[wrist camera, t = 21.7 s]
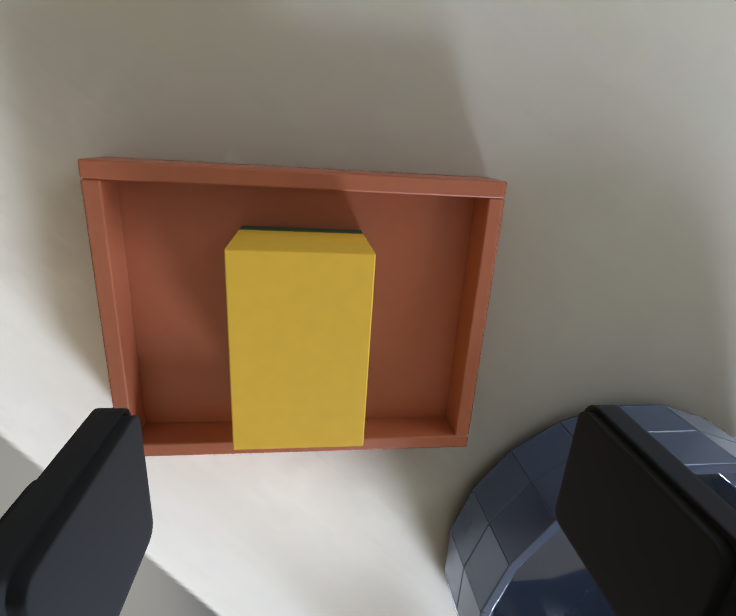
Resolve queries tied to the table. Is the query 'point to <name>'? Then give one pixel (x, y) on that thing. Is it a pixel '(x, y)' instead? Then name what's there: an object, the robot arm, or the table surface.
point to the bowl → (539, 523)
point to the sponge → (298, 336)
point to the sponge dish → (208, 289)
